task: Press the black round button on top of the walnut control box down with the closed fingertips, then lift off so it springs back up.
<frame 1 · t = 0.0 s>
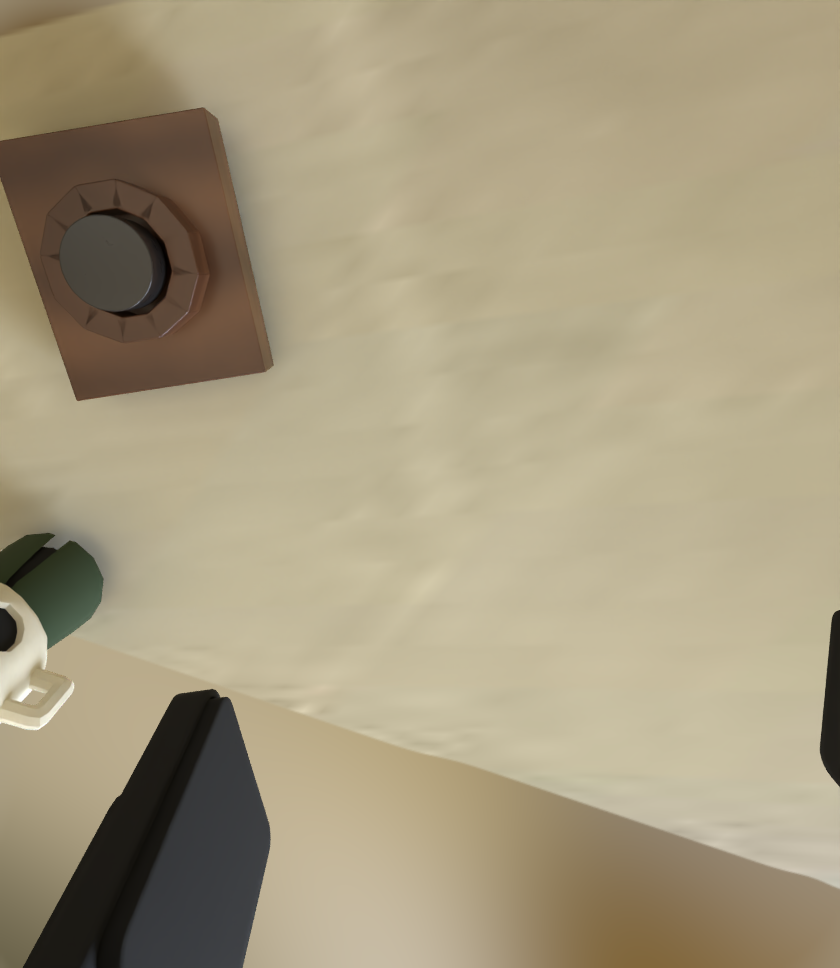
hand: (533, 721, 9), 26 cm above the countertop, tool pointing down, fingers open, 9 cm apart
character mug: (58, 575, 37), on the countertop
button: (114, 264, 27), point 4 cm above the countertop, slide at 0.1 cm
button box: (153, 265, 31), on the countertop
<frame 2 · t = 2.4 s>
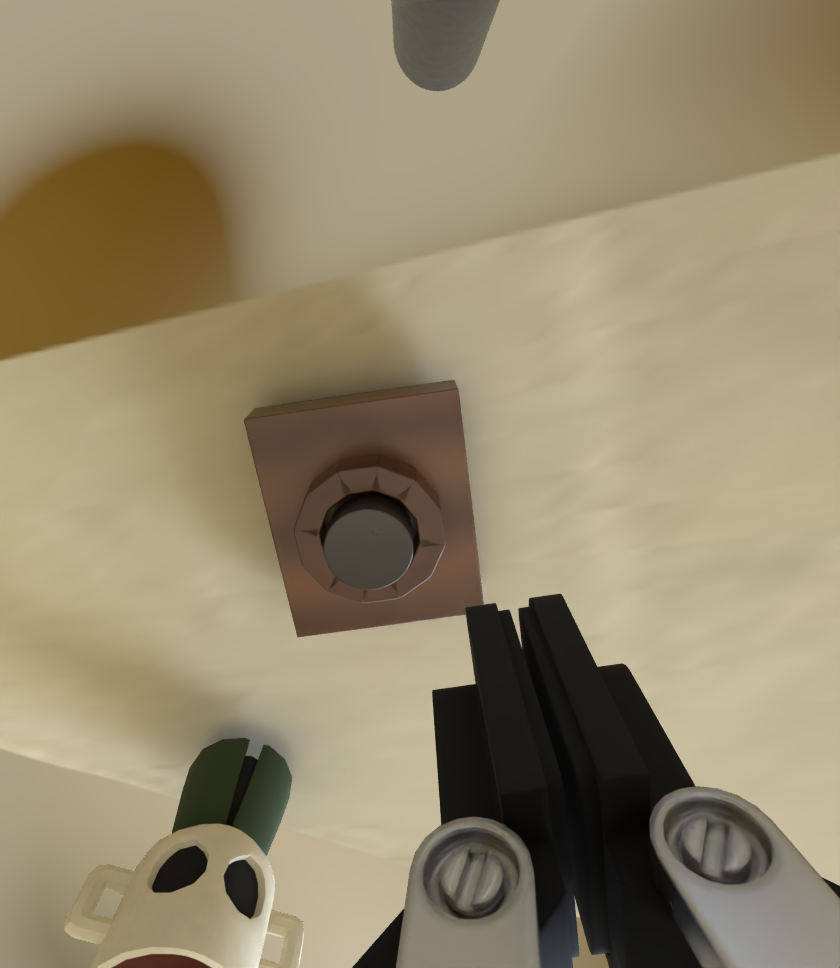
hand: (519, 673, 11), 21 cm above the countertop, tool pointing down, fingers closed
character mug: (244, 769, 38), on the countertop
button: (369, 542, 28), point 4 cm above the countertop, slide at 0.1 cm
button box: (373, 505, 32), on the countertop
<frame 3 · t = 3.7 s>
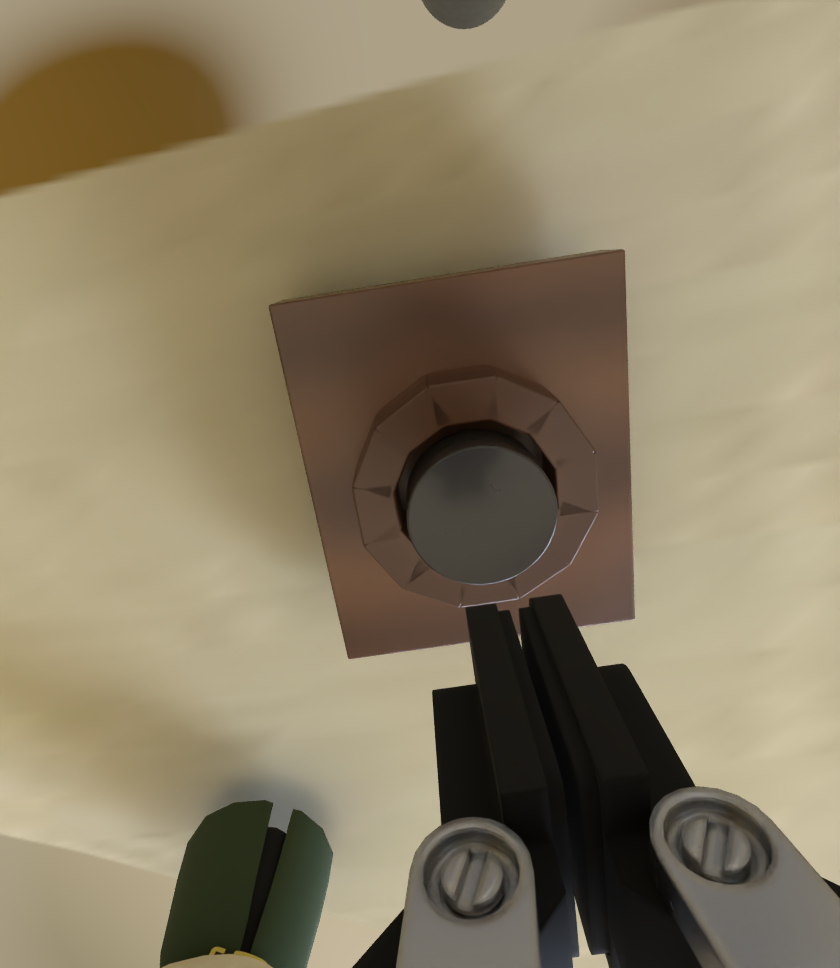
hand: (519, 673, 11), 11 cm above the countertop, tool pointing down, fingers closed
character mug: (264, 840, 27), on the countertop
button: (478, 506, 17), point 4 cm above the countertop, slide at 0.1 cm
button box: (463, 457, 21), on the countertop
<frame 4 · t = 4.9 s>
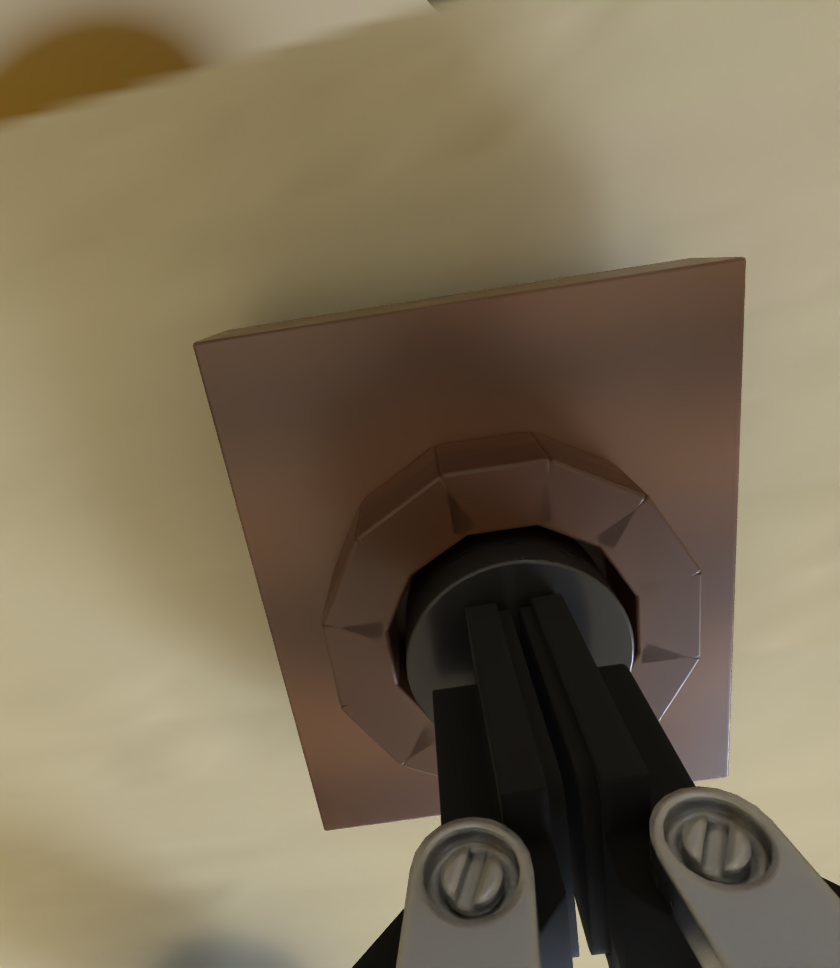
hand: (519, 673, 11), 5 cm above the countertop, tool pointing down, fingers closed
button: (512, 634, 11), point 4 cm above the countertop, slide at -0.6 cm, touching gripper
button box: (486, 547, 15), on the countertop
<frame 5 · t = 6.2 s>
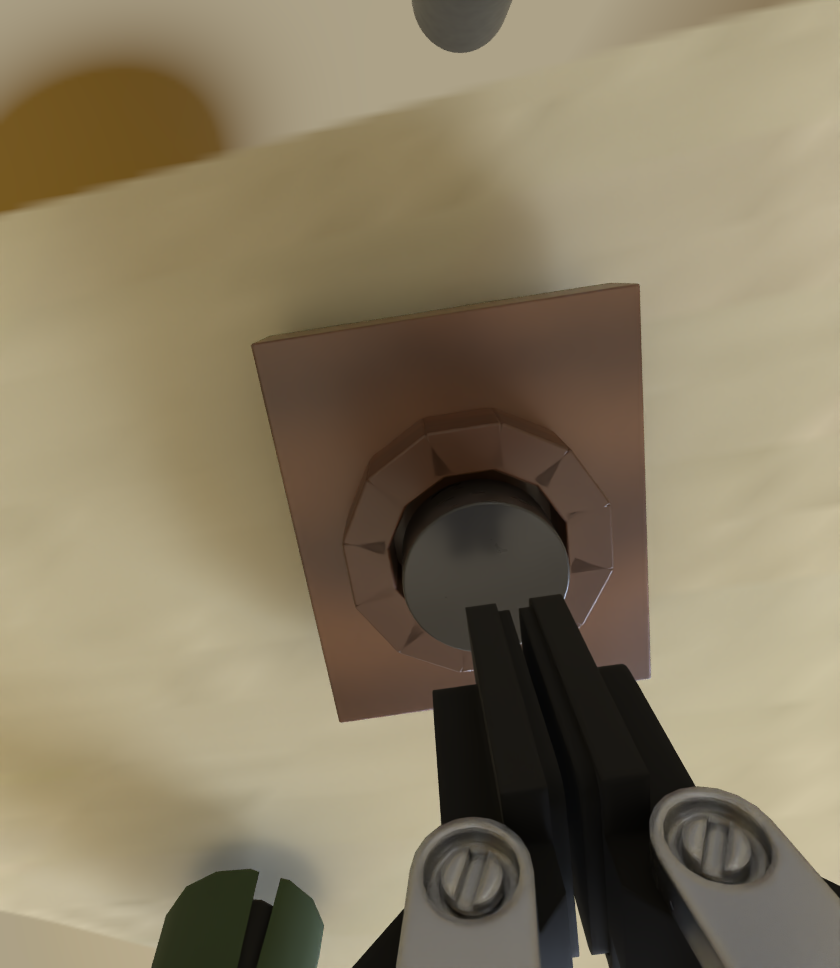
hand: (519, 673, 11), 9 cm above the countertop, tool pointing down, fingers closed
character mug: (250, 910, 25), on the countertop
button: (482, 564, 15), point 4 cm above the countertop, slide at 0.1 cm
button box: (464, 502, 19), on the countertop
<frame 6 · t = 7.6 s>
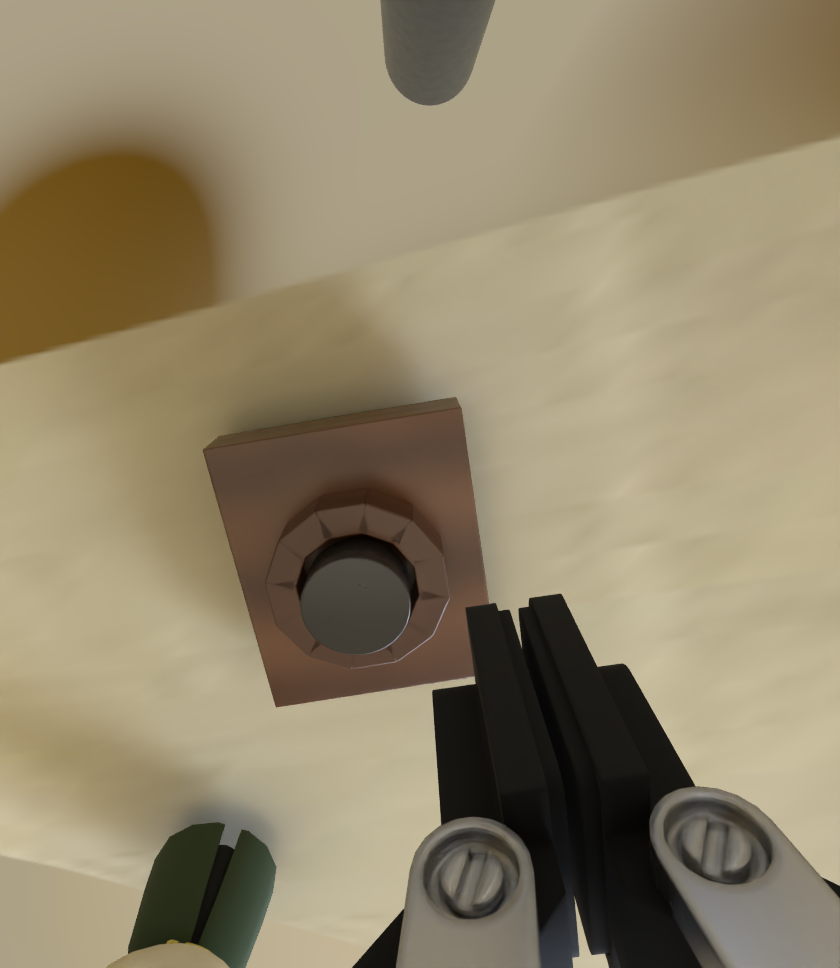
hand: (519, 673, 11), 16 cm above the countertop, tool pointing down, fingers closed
character mug: (220, 857, 33), on the countertop
button: (357, 596, 23), point 4 cm above the countertop, slide at 0.1 cm
button box: (364, 547, 27), on the countertop
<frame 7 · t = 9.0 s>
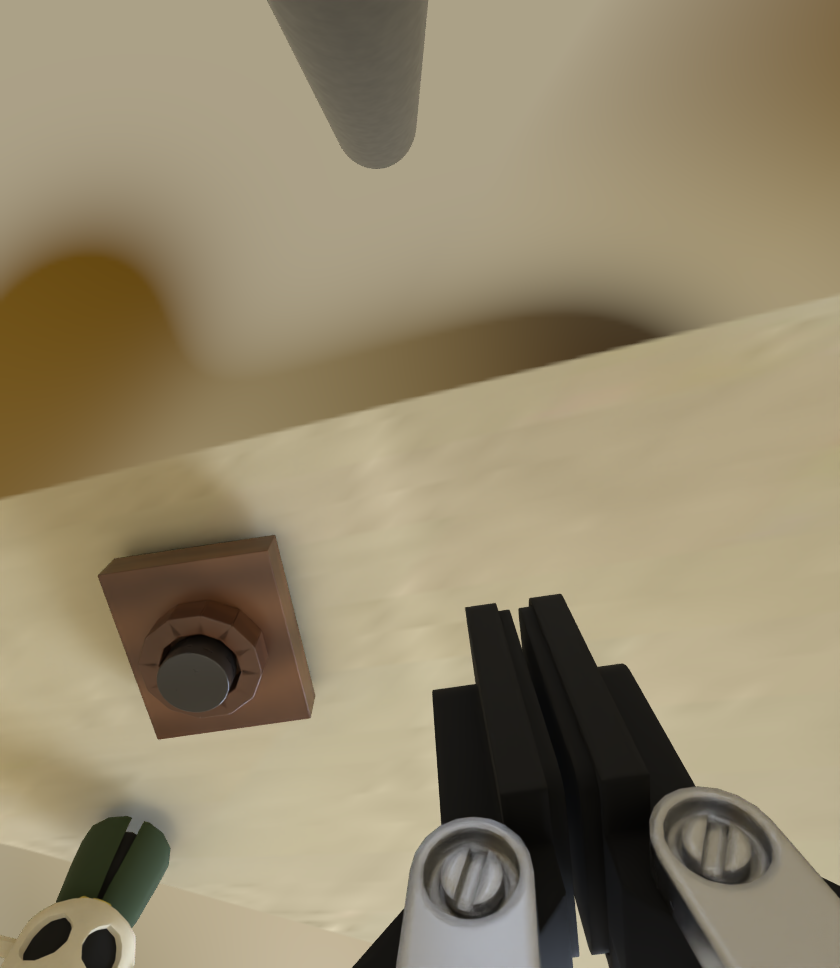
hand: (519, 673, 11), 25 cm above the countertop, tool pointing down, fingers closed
character mug: (132, 840, 45), on the countertop
button: (197, 673, 35), point 4 cm above the countertop, slide at 0.1 cm
button box: (219, 630, 39), on the countertop
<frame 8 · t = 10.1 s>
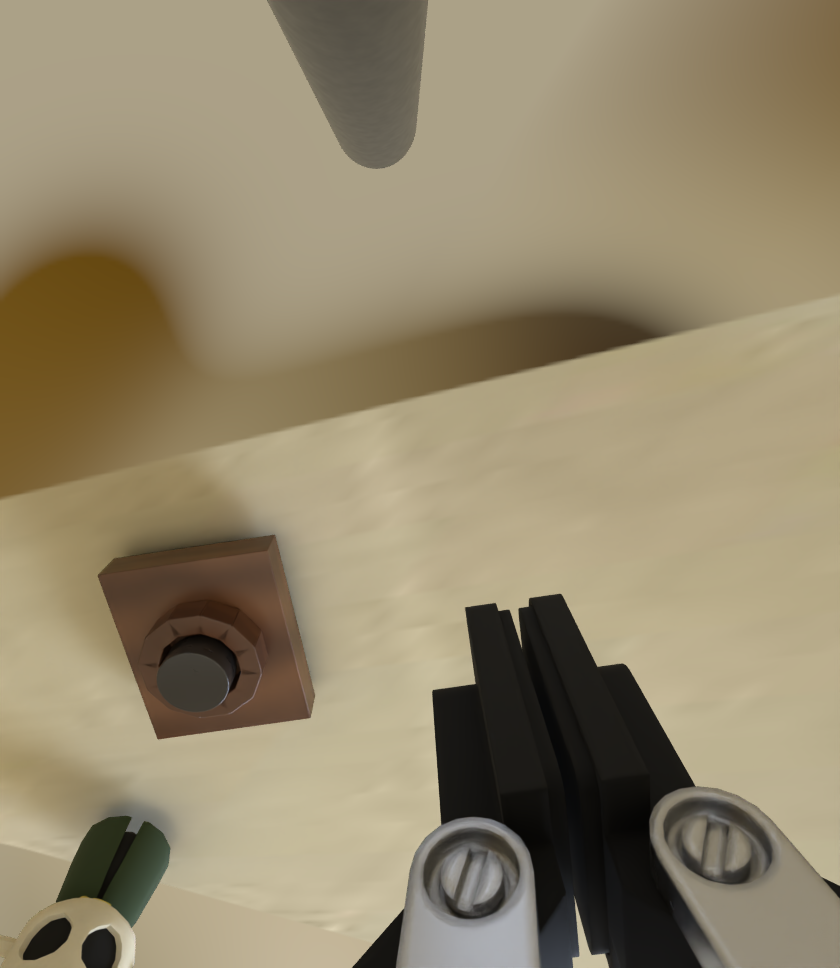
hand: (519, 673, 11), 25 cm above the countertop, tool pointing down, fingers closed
character mug: (131, 840, 45), on the countertop
button: (197, 673, 35), point 4 cm above the countertop, slide at 0.1 cm
button box: (219, 630, 39), on the countertop
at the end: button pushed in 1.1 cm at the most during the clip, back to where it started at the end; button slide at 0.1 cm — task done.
